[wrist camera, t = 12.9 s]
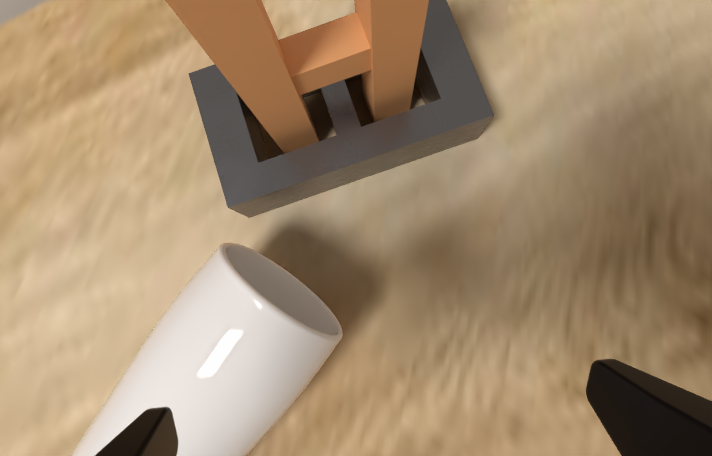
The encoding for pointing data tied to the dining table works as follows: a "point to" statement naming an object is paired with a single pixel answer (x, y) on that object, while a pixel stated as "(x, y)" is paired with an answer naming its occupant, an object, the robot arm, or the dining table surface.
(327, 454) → the dining table surface
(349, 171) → the grey slotted base block
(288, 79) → the orange letter h block
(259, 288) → the drinking glass
